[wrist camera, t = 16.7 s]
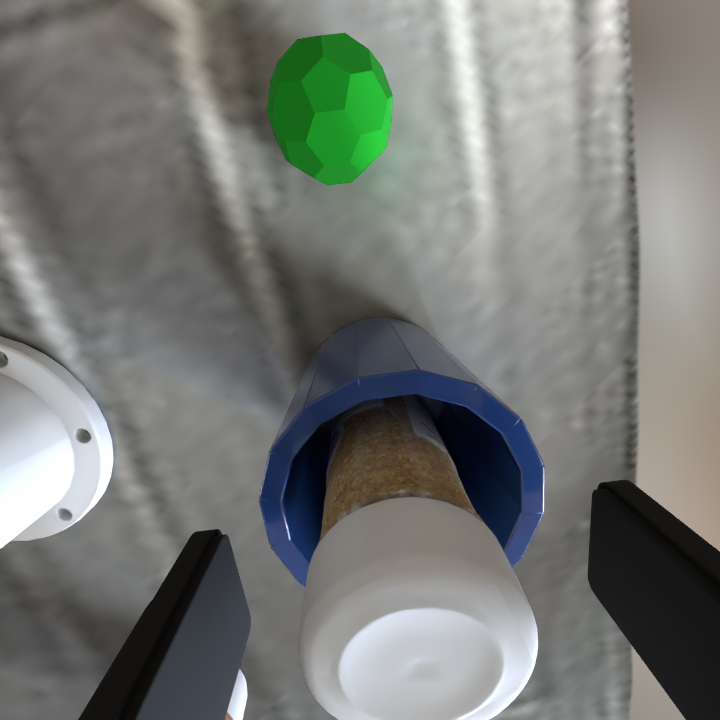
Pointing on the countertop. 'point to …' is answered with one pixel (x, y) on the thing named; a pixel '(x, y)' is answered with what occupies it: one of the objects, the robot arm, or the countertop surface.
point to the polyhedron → (330, 107)
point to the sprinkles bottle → (408, 581)
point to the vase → (448, 411)
